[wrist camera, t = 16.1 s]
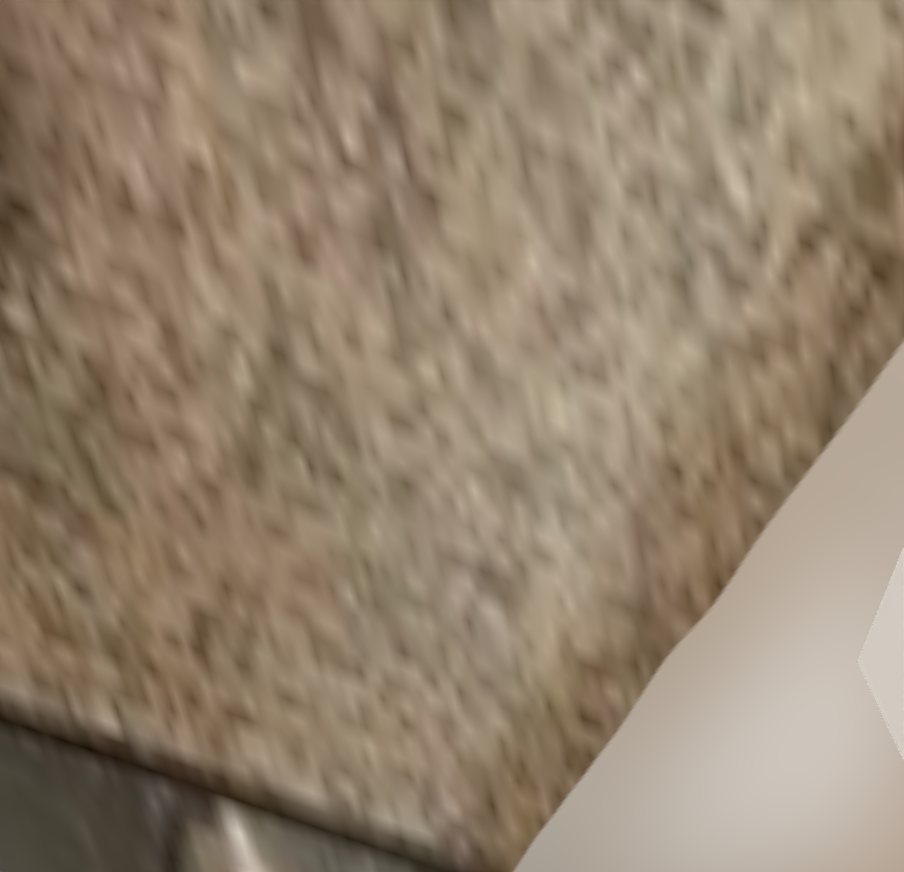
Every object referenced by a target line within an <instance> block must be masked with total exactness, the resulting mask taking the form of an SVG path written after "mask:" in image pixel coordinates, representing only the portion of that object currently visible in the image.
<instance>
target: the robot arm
mask: <svg viewBox="0 0 904 872" xmlns="http://www.w3.org/2000/svg"><path fill="white" fill-rule="evenodd" d="M857 663H858V665H859V667H860V669H861V671H862V674H863V676H864V678H865V680H866V682H867V684H868V686H869V688H870V690H871V693H872V694H873V697H874V699H875V701H876V703H877V705H878V707H879V710H880V712H881V714H882V716H883V718H884V720H885V722H886V724H887V726H888V729H889V731H890V733H891V735H892V737H893V739H894V741H895V743H896V745H897V748H898V750H899V752H900V754H901V756H902V758H903V760H904V547H903V550H902V552H901V555H900V557H899V560H898V563H897V564H896V567H895V569H894V572H893V574H892V577H891V579H890V582H889V584H888V587H887V590H886V592H885V594H884V597H883V599H882V602H881V604H880V607H879V609H878V612H877V614H876V617H875V619H874V622H873V624H872V627H871V630H870V632H869V634H868V637H867V639H866V642H865V645H864V647H863V649H862V652H861V654H860V657H859V659H858V662H857Z"/></svg>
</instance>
